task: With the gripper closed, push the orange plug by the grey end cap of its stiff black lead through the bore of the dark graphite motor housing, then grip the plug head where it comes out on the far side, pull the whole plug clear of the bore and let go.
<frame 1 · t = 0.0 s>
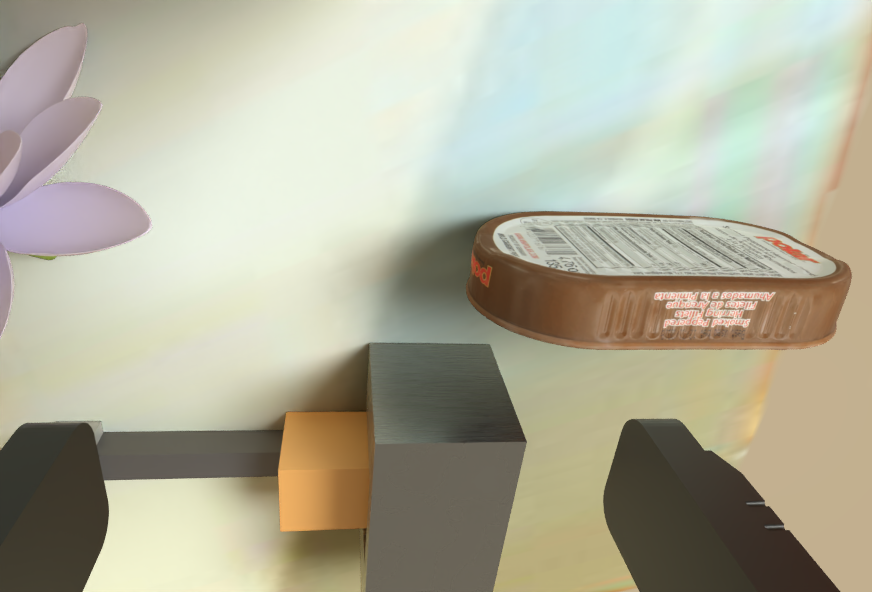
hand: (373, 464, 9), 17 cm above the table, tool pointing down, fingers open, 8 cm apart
water lily: (6, 127, 22), on the table
housing: (419, 440, 32), on the table
tin: (610, 230, 27), on the table
plug: (335, 441, 31), on the table
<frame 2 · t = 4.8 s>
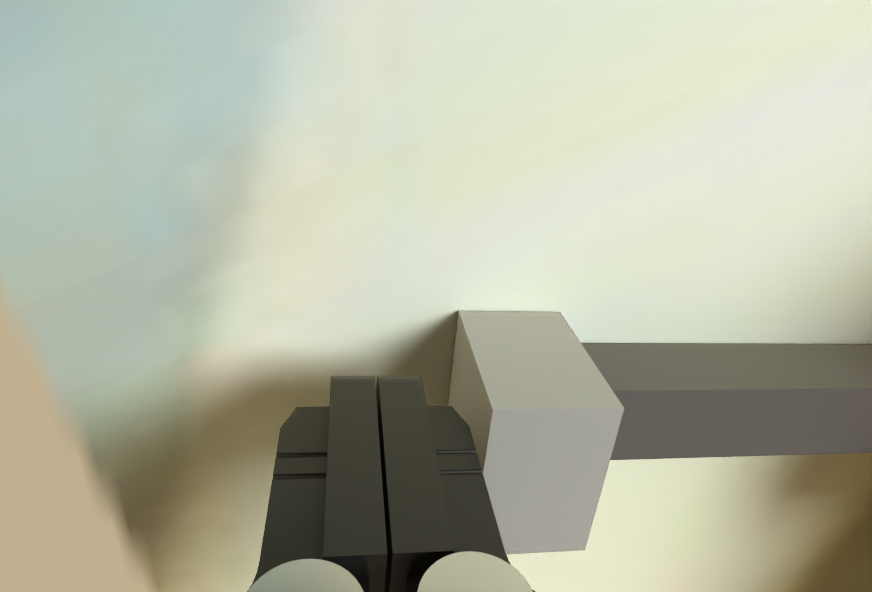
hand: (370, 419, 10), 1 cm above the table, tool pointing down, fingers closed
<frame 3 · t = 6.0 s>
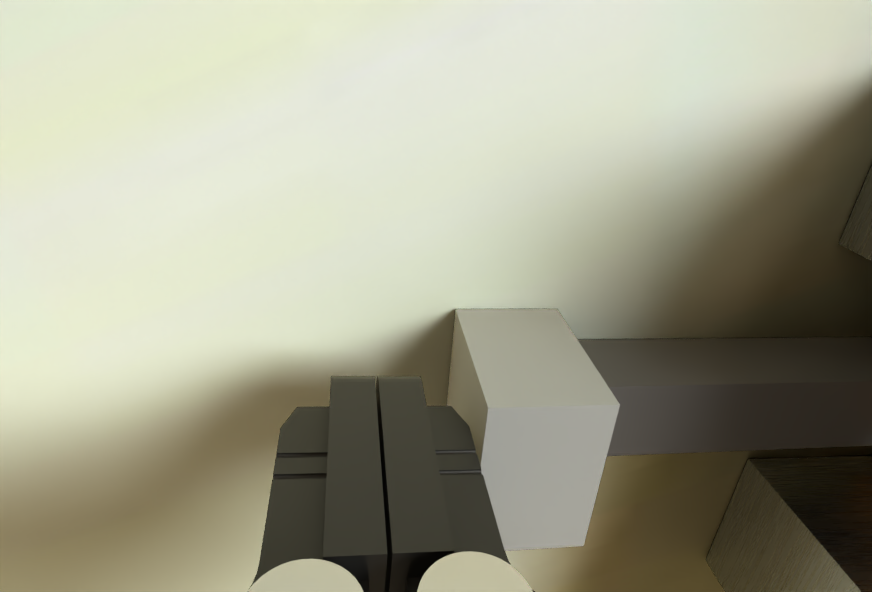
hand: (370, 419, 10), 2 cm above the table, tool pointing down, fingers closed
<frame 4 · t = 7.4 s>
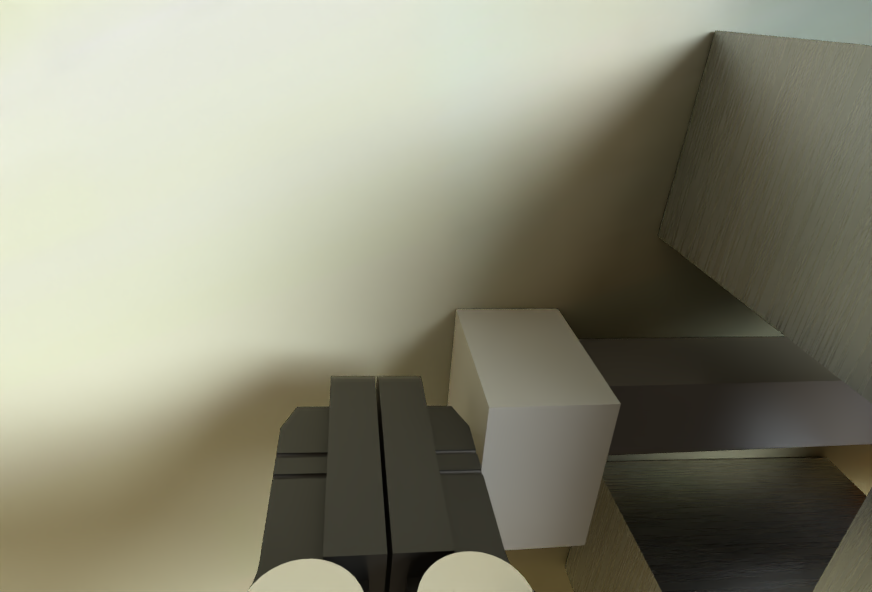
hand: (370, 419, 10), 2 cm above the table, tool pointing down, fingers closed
housing: (753, 361, 13), on the table
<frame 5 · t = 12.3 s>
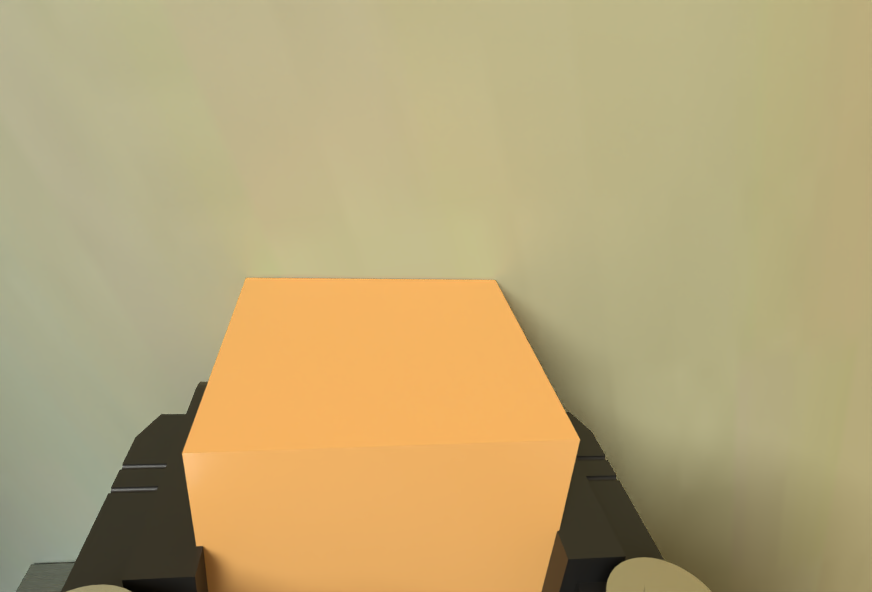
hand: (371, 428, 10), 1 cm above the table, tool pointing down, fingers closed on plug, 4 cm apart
plug: (371, 404, 11), on the table, touching gripper
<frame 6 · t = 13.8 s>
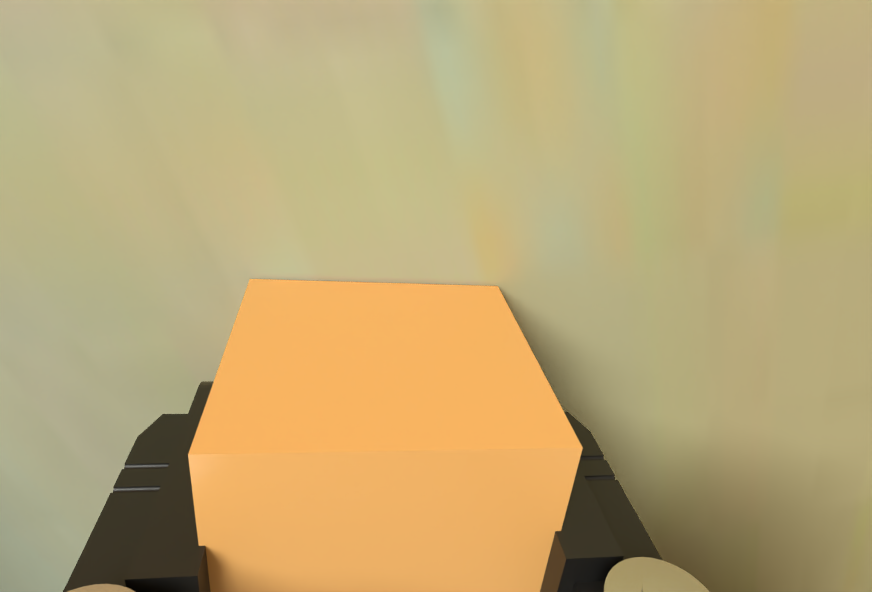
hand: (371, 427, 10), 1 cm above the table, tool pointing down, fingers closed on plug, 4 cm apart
plug: (371, 407, 11), on the table, touching gripper
when the fingers open (1 cm above the table, at t = 15.2 s): plug stays where it is, on the table.
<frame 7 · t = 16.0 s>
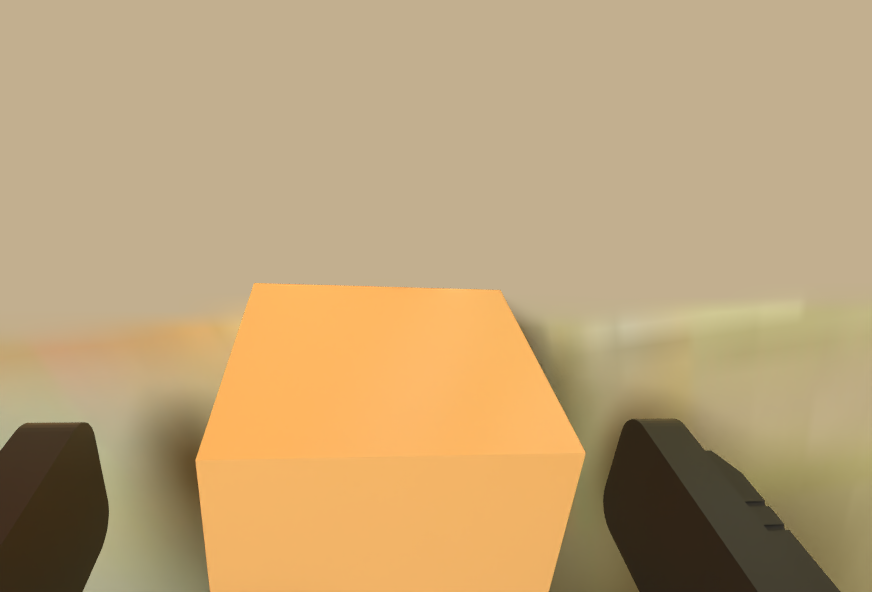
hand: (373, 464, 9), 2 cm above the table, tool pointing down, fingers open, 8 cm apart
plug: (373, 410, 11), on the table
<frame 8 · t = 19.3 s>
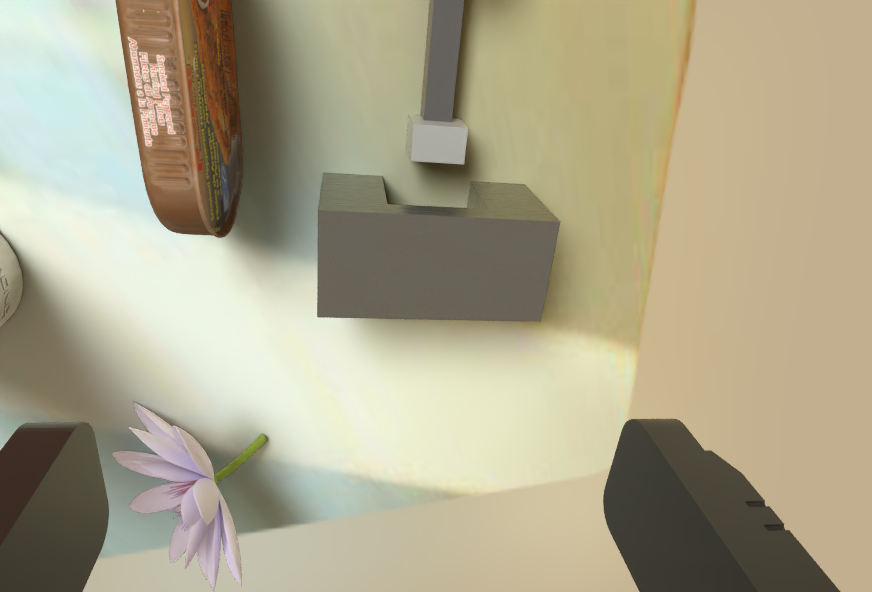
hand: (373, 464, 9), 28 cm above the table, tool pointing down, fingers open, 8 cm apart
water lily: (194, 440, 43), on the table
housing: (422, 225, 37), on the table
tin: (208, 74, 32), on the table
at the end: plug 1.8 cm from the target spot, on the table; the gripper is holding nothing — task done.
